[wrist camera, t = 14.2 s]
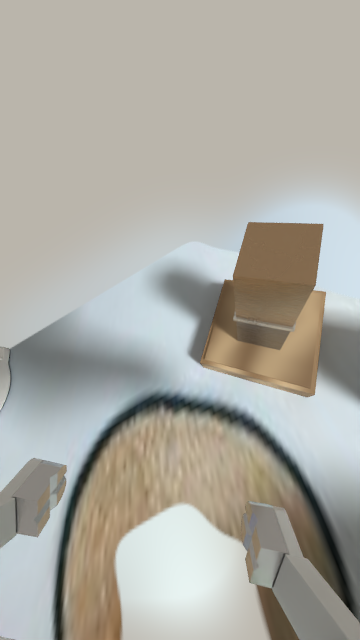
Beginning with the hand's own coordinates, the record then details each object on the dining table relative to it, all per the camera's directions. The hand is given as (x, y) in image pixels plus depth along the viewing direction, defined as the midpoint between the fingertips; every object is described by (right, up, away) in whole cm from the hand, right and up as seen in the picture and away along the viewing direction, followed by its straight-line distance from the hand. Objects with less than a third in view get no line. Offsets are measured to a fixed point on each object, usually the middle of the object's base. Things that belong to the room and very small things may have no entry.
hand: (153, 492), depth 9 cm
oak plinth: (+13, +5, +20) cm, 24 cm away
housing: (+12, +7, +17) cm, 22 cm away
